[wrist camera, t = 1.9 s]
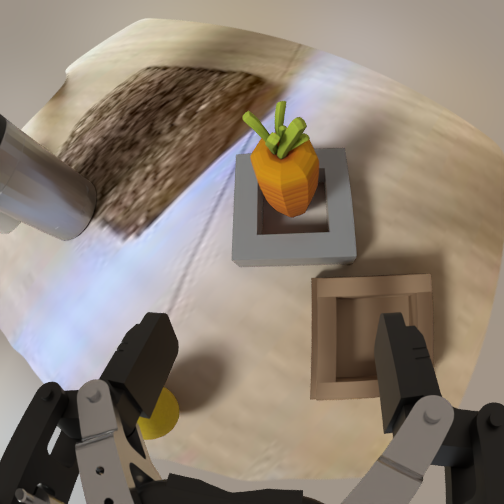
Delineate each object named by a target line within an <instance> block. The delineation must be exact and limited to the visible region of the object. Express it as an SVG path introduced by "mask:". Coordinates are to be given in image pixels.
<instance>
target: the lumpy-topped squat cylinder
mask: <svg viewBox="0 0 504 504" xmlns="http://www.w3.org/2000/svg"><path fill="white" fill-rule="evenodd" d="M20 223H21V221H18V220H16V219H14V218H12V217H10V216H8V215H6V214H4V213H2V212H0V233H1V234H8V233H10V232H12V231H13V230H14V229H15V228H16V227H17V226H18V225H19V224H20Z"/></svg>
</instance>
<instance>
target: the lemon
mask: <svg viewBox="0 0 504 504" xmlns="http://www.w3.org/2000/svg"><path fill="white" fill-rule="evenodd" d="M178 418H179V405H178V402H177V400H176V398H175V396H174V395H173V394H172V393H171V392H170V391H169V390H168V389H167V388H165V387H163V389H162V391H161V394H160V396H159V399H158V401H157V403H156V406H155V408H154V410H153V413H152V415H151V418H150V419H148V418H143V417H139V419H138V421H137V423H138V425H139V427H140V430H141V433H142V436H143V439H144V440H150V439H156V438H159V437H162V436H164V435H166V434H167V433H169V432H170V431H171V430H172V429H173V428H174V426H175V425H176V423H177V421H178Z"/></svg>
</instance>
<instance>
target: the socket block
mask: <svg viewBox="0 0 504 504" xmlns="http://www.w3.org/2000/svg"><path fill="white" fill-rule="evenodd" d="M314 150H315V153H316V155H317V157H318V159H319V177H318V182H324V186H325V198H326V211H327V226H328V232H321V233H294V234H269V235H262V233H263V192H262V190H261V188H260V186H259V183H258V181H257V178H256V175H255V172H254V169H253V166H252V163H251V159H250V156H251V154H252V153H249V154H239V155H236V169H235V190H234V213H233V238H232V261H233V262H234V263H236V264H237V265H238V266H239V267H262V266H299V265H331V264H353V262H354V260H355V258H356V257H357V255H356V241H355V229H354V218H353V208H352V198H351V190H350V182H349V174H348V166H347V159H346V153H345V148H327V149H314Z"/></svg>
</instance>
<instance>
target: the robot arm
mask: <svg viewBox="0 0 504 504" xmlns="http://www.w3.org/2000/svg"><path fill="white" fill-rule="evenodd" d="M95 206H96V191H95V187H94V186H93V184H92V183H91V182H90V181H89V180H87V179H86V178H84V177H83V176H82V175H80V174H79V173H78V172H76V171H75V170H74V169H72V168H71V167H70V166H68V165H67V164H65V163H64V162H63V161H61V160H60V159H59V158H57V157H56V156H55V155H53V154H52V153H51V152H49V151H48V150H47V149H45V148H44V147H43V146H41V145H40V144H39V143H37V142H36V141H35V140H33V139H32V138H31V137H29V136H28V135H27V134H25V133H24V132H23V131H21V130H20V129H19V128H17V127H16V126H15V125H13V124H12V123H11V122H10V121H8V120H7V119H5V118H4V117H3V116H2V115H1V114H0V212H2V213H4V214H6V215H8V216H10V217H12V218H14V219H16V220H18V221H21V222H23V223H25V224H27V225H29V226H31V227H34V228H36V229H38V230H40V231H42V232H44V233H47V234H49V235H51V236H53V237H56V238H58V239H60V240H64V241H65V240H71V239H73V238H75V237H76V236H78V235H79V234H80V233H81V232H82V231H83V230H84V229H85V227H86V226H87V225H88V223H89V221H90V220H91V217H92V215H93V213H94V209H95ZM178 348H179V346H178V340H177V337H176V335H175V332H174V330H173V327H172V325H171V322H170V320H169V317H168V315H167V314H166V313H152V312H148V313H147V314H146V315H145V316H144V318H143V319H142V321H141V323H140V324H136V325H135V326H134V327H133V328H131V329H130V330H129V331H128V332H127V333H126V335H125V337H124V338H123V340H122V343H121V344H120V345H119V346H118V348H117V351H115V353H114V355H113V356H112V358H111V360H110V361H109V363H108V365H107V366H106V368H105V370H104V372H103V373H102V375H101V377H100V378H99V380H91V381H89V382H87V383H85V384H84V385H83V386H82V387H81V388H80V389H79V390H70V391H64V390H63V389H62V388H61V387H60V385H59V384H58V383H56V382H48V383H45V384H44V385H42V386H41V387H40V388H39V389H38V390H37V392H36V394H35V395H34V397H33V399H32V401H31V403H30V404H29V406H28V408H27V410H26V411H25V413H24V415H23V417H22V419H21V421H20V423H19V424H18V426H17V428H16V430H15V432H14V434H13V436H12V438H11V440H10V442H9V444H8V446H7V448H6V450H5V452H4V454H3V456H2V459H1V461H0V504H68V501H69V499H70V496H71V493H72V490H73V488H74V485H75V482H76V480H77V477H78V474H79V473H80V477H81V482H82V487H83V491H84V495H85V499H86V503H87V504H324V503H322V502H320V501H317V500H315V499H312V498H309V497H305V496H303V490H278V489H263V490H256V491H247V492H236V493H232V492H227V491H225V490H222V489H220V488H218V487H215V486H213V485H210V484H208V483H206V482H204V481H201V480H199V479H194V478H189V477H184V476H180V475H175V474H172V473H170V474H169V476H168V479H166V480H162V478H161V476H160V475H159V473H158V471H157V470H156V468H155V467H154V465H153V464H152V462H151V459H150V456H149V454H148V451H147V448H146V445H145V442H144V439H143V436H142V433H141V430H140V427H139V425H138V423H137V421H138V419H139V417H143V418H148V419H150V418H151V415H152V413H153V410H154V408H155V406H156V403H157V401H158V399H159V396H160V394H161V391H162V389H163V387H164V384H165V382H166V380H167V377H168V375H169V373H170V370H171V368H172V366H173V363H174V361H175V359H176V357H177V354H178ZM374 358H375V365H376V371H377V378H378V386H379V393H380V401H381V410H382V420H383V430H384V434H386V433H393V440H392V441H391V443H390V444H389V445H388V447H387V448H386V450H385V451H384V452H383V454H382V455H381V456H380V457H379V458H378V460H377V461H376V462H375V463H374V465H373V466H372V467H371V468H370V470H369V471H368V472H367V474H366V475H365V476H364V477H363V478H362V480H361V481H360V482H359V484H358V485H357V486H356V487H355V488H354V489H353V490H352V492H351V493H350V494H349V495H348V496H347V497H346V498H345V499H344V501H343V502H342V503H341V504H409V502H410V501H411V499H412V498H413V496H414V495H415V494H416V492H417V490H418V489H419V487H420V485H421V484H422V481H423V476H424V474H425V472H426V471H427V469H428V467H429V466H430V465H438V466H445V483H446V504H504V406H503V405H502V404H500V403H489V404H486V405H485V406H483V407H482V408H481V410H480V411H470V410H461V409H457V408H454V407H452V405H451V404H450V403H449V402H448V401H447V400H446V399H445V398H443V397H442V395H441V393H440V389H439V386H438V382H437V378H436V375H435V371H434V368H433V364H432V361H431V359H430V355H429V351H428V349H427V345H426V342H425V339H424V336H423V334H422V333H421V332H420V331H419V330H418V329H417V328H416V326H415V325H413V326H406V325H405V321H404V318H403V315H402V313H401V312H394V313H381V314H380V318H379V323H378V329H377V334H376V339H375V345H374ZM56 426H58V427H59V428H60V429H61V433H60V435H59V437H58V439H57V441H56V443H55V446H54V448H53V450H52V452H51V454H50V455H49V453H48V450H47V446H48V443H49V441H50V439H51V437H52V435H53V432H54V430H55V428H56Z"/></svg>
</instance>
